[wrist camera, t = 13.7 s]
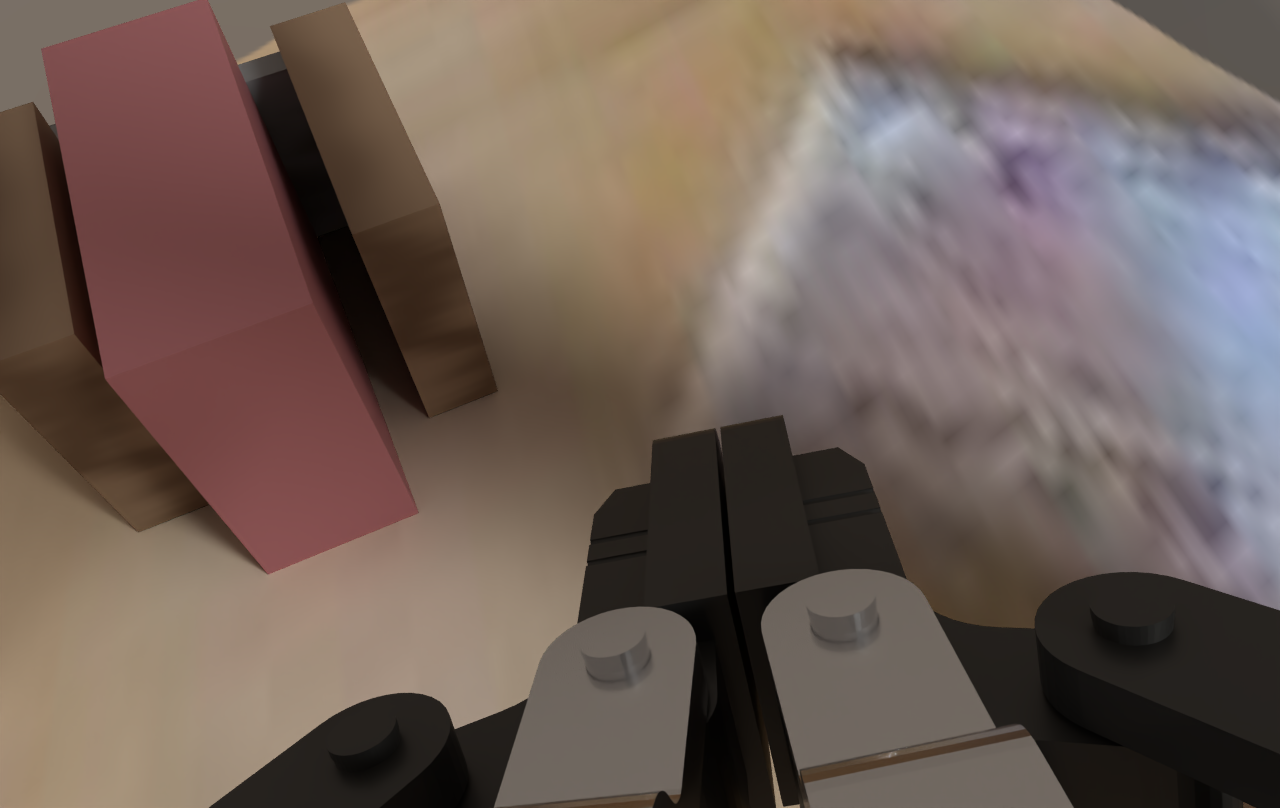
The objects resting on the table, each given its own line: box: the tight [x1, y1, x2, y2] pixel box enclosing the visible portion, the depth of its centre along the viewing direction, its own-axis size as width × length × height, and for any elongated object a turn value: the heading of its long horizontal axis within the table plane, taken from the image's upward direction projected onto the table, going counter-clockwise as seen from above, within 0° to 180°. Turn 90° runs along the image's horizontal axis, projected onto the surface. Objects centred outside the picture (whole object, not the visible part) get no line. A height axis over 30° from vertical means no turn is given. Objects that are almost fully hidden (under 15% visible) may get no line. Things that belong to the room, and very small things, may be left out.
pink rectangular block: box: [41, 0, 419, 574], centre depth 40 cm, size 6×16×13 cm, turn 24°
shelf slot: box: [0, 3, 498, 532], centre depth 43 cm, size 15×13×11 cm
